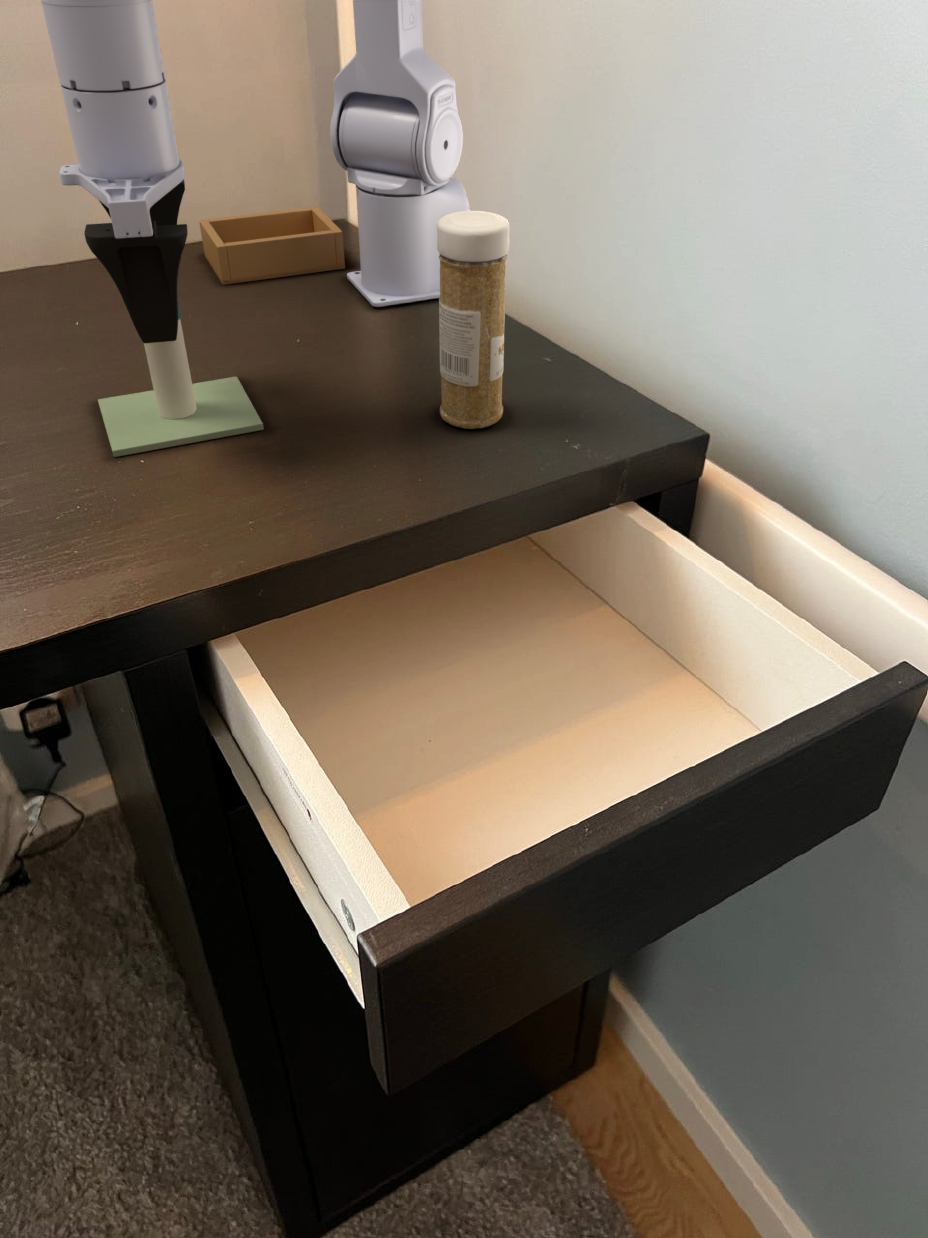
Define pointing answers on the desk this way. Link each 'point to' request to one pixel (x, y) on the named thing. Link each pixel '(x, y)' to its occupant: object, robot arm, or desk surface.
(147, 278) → the robot arm
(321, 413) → the desk surface
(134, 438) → the mat
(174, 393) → the white bottle teal cap
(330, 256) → the box
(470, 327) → the spice jar
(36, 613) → the desk surface
